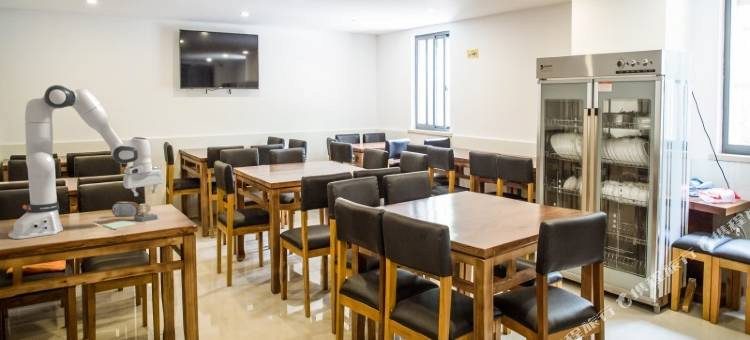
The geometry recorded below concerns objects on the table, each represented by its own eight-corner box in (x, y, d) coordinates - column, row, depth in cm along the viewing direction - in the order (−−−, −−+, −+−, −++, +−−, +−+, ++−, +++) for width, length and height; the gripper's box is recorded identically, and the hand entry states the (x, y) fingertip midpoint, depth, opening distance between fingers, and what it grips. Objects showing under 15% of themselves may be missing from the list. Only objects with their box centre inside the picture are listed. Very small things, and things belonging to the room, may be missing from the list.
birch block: (144, 220, 285) (143, 205, 284) (140, 219, 287) (139, 204, 286) (151, 219, 288) (150, 204, 287) (147, 217, 290) (146, 203, 289)
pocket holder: (141, 224, 281) (141, 218, 280) (132, 221, 287) (131, 215, 287) (159, 220, 288) (159, 215, 288) (150, 218, 295) (150, 212, 294)
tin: (140, 216, 299) (139, 201, 298) (137, 218, 296) (136, 202, 294) (114, 216, 300) (113, 201, 299) (111, 217, 297) (110, 202, 296)
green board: (113, 230, 268) (113, 228, 268) (102, 226, 276) (102, 224, 276) (137, 225, 277) (137, 223, 277) (126, 222, 285) (126, 220, 285)
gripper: (158, 165, 294) (160, 191, 296) (120, 170, 279) (123, 197, 281) (164, 166, 290) (166, 192, 292) (126, 171, 275) (129, 198, 276)
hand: (145, 194), depth 286 cm, fingers open, 8 cm apart
